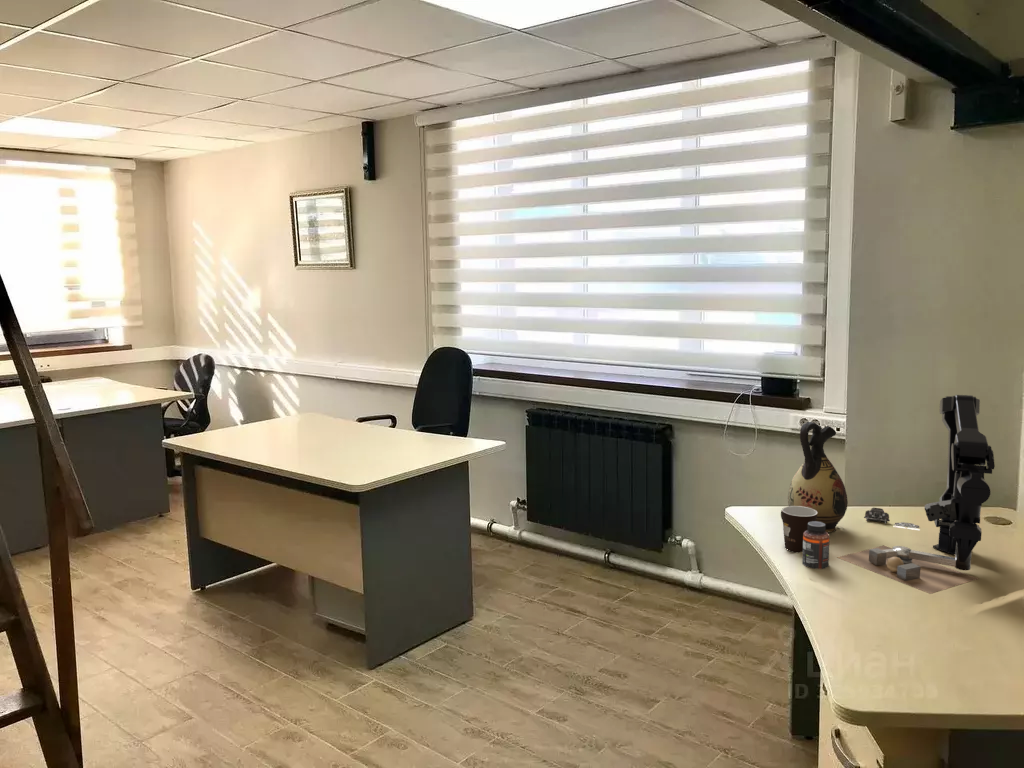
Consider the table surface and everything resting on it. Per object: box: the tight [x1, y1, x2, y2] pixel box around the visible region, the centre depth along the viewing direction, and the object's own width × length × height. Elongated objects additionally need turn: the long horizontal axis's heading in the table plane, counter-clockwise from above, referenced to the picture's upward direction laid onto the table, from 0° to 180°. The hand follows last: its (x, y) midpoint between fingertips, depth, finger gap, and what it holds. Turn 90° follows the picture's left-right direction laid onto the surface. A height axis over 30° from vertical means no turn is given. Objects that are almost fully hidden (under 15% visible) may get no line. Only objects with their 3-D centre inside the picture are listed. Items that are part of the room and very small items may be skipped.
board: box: [836, 545, 979, 595], centre depth 191 cm, size 17×25×1 cm
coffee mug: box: [780, 505, 818, 553], centre depth 208 cm, size 12×9×10 cm
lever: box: [868, 542, 973, 571], centre depth 190 cm, size 21×9×7 cm, turn 54°
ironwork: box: [897, 558, 921, 581], centre depth 190 cm, size 15×5×3 cm, turn 163°
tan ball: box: [887, 557, 904, 573], centre depth 188 cm, size 4×4×4 cm
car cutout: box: [863, 507, 921, 531], centre depth 226 cm, size 15×7×4 cm, turn 60°
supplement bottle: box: [801, 521, 830, 570], centre depth 193 cm, size 6×6×11 cm
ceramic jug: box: [787, 421, 848, 534], centre depth 221 cm, size 17×15×30 cm
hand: (962, 558), depth 188 cm, fingers open, 5 cm apart
